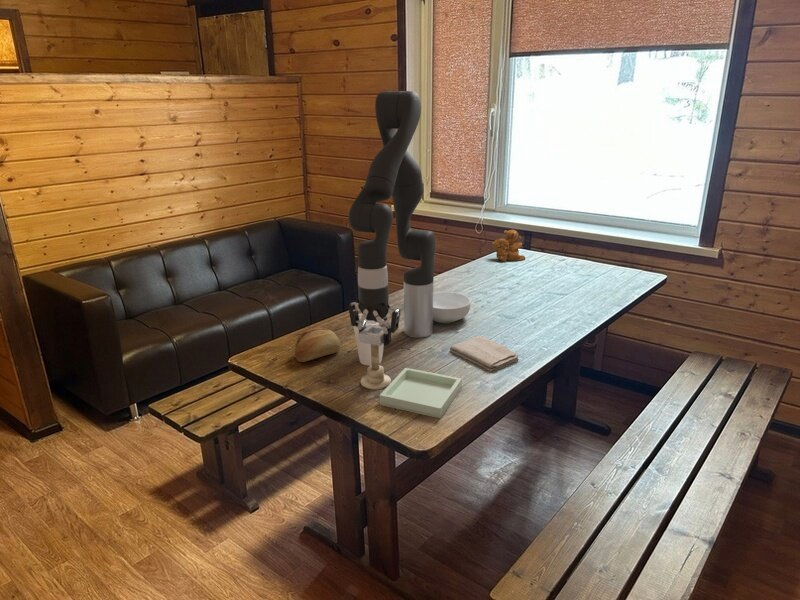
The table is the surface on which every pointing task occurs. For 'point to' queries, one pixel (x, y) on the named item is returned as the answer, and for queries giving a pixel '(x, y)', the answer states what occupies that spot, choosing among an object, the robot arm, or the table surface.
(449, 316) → the cereal bowl
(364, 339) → the ring
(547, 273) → the table surface
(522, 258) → the stuffed squirrel
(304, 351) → the bread roll
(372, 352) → the beige peg stand
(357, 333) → the foam cup
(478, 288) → the table surface
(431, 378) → the tray
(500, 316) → the table surface
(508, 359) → the washcloth
